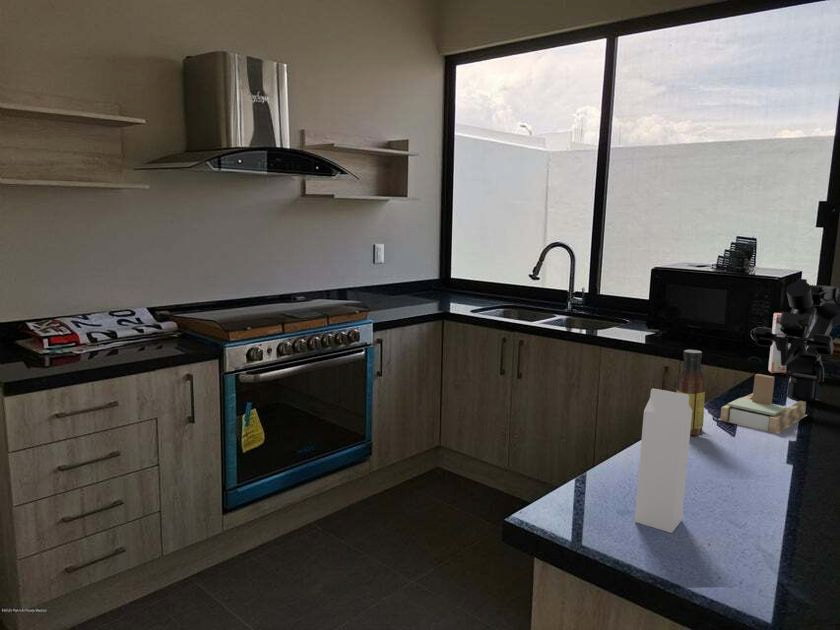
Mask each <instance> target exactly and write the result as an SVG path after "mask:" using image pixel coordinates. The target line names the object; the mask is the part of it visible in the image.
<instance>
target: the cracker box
mask: <svg viewBox="0 0 840 630" xmlns="http://www.w3.org/2000/svg"><path fill="white" fill-rule="evenodd" d="M781 314H782V312H774V313H773V317H772V327H771V329H772V333H773V334H777V332H779V333H783V332H781V330H780V328H781V324H779V322H780V318H781ZM814 324H815V318H814V319H813V322H812V324H811V327H810V332H811V330H812V328H813V326H814ZM808 335H809V334H808ZM808 335H807V337H808ZM807 337H806V338H807ZM790 346H791V344H789V345H788V348H790ZM769 349H770V350H769V359H768V368H767V369H768V372H769V373H771V374H773V373H784V374H785V373H786V366H782V365H781V352H780V351H778V350H777V348H776V344H775V342H773V344H772V346H770V347H769ZM784 374H783V375H784Z"/></svg>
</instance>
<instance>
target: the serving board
mask: <svg viewBox="0 0 840 630" xmlns="http://www.w3.org/2000/svg"><path fill="white" fill-rule="evenodd" d="M742 398H746V399H751V400H752V398H753V392H752V393H749V394H747V395H746V396H742ZM806 407H807V401H797V402H795V403H794V404H792V405H790V406H787V407H786V410H784V411H782V412H780V413H778V414H777V415H775V416H772V417H770V422H769V430H765V429H761V428H757V427H752V426H748V425H744V424H739V423H735V422H731V421H729V418H730V409H731V408H733V407H731V406H728V403H727V404H725V405H723V406H721V408H720V409H721V410H720V416H719V417H720V418H717V420H718V421H720V422H721V421H722V422H725V423H730V424H733V425H740V426H741V427H742V426H743V427H748V428H751V429H755V430H760V431H765V432H769V433H773V434H778V435H779V434H780V433H782V432H783V431H785V430H786V429H788V428H790V427H792V426H793V425H794V424H796V423H798V422H800V421H801V420H803V419H804V418H805V417H807V416H808V414H805V413H806Z"/></svg>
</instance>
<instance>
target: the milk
mask: <svg viewBox="0 0 840 630" xmlns="http://www.w3.org/2000/svg"><path fill="white" fill-rule="evenodd" d="M691 419H692V409H691V407H690V406H689V395H687V394H682V393H677V391H676V392H674V391H671V390H666V389H665V390H664V389H658V388H651V390H650V394H649V400H648V401H647V403H646V405H645V408H644V410H643V419H642V428H641V429H642V430H641V440H640V441H641V443H640V452H639V453H640V454H639V466H638V478H637V479H638V480H637V487H636V488H637V491H636V500H635V501H636V502H635V503H636V504H635V514H634V515H635V517H634V523H636V524H641V525H643V526H646V527H650V528H653V529H656V530H660V531H664V532H666V533H671V534H673V532H674V531H676V529H677V528H678V526H679V525H680V523H681V522H682V521H683V520H682V519H683V513H684V511H683V510H684V503H685V502H684V501H685V492H686V491H685V490H686V480H687V471H688V470H687V469H688V459H689V449H690V437H691V435H690V429H691Z"/></svg>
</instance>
